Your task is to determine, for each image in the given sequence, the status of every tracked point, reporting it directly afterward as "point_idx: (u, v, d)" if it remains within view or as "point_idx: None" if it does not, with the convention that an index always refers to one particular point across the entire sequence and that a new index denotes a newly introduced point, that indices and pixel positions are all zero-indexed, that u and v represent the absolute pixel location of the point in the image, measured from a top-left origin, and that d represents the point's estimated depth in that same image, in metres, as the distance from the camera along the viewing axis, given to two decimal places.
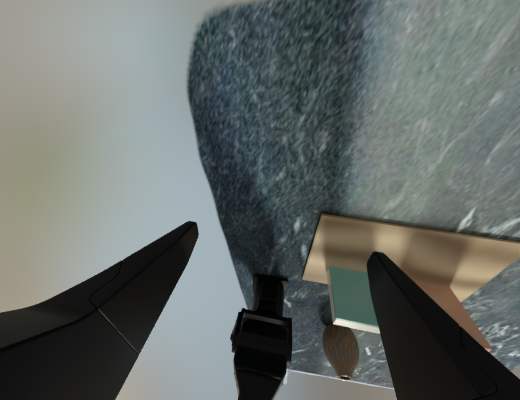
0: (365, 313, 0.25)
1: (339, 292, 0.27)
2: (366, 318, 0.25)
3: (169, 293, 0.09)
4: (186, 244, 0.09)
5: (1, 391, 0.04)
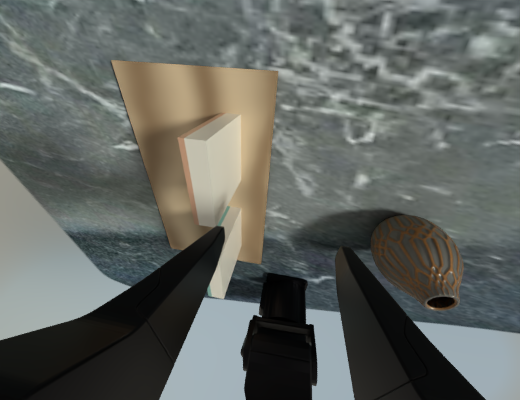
0: None
1: None
2: None
3: (201, 300, 0.08)
4: (216, 249, 0.09)
5: None
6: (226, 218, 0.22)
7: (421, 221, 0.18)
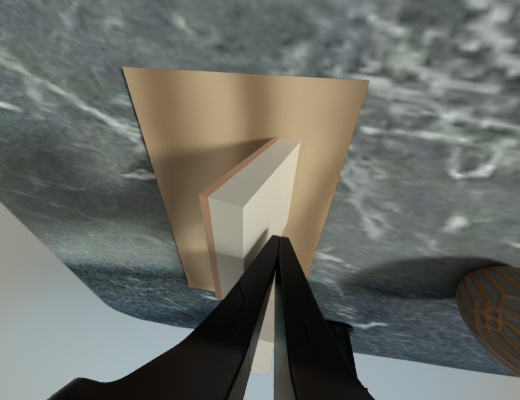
0: None
1: None
2: None
3: None
4: (277, 260, 0.09)
5: None
6: None
7: None
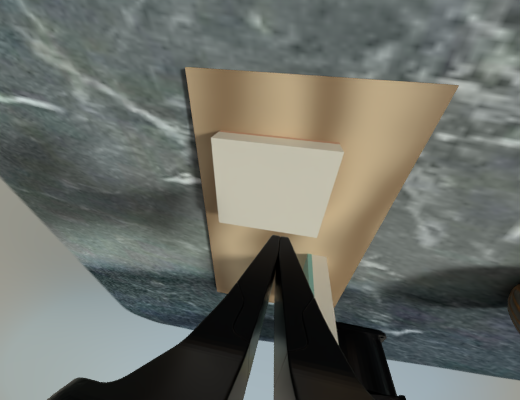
0: None
1: None
2: None
3: None
4: (277, 260, 0.09)
5: None
6: (315, 275, 0.17)
7: None
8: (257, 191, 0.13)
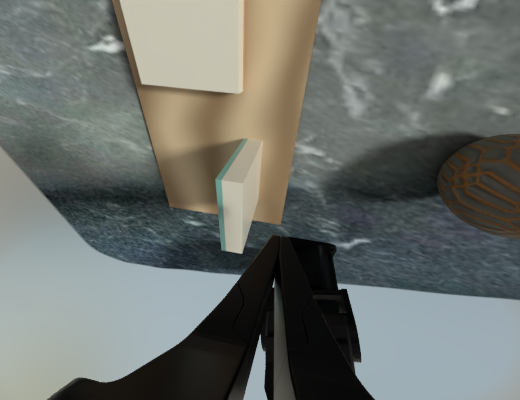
0: None
1: None
2: None
3: (265, 313, 0.08)
4: (277, 260, 0.09)
5: None
6: (245, 147, 0.16)
7: None
8: (167, 27, 0.13)
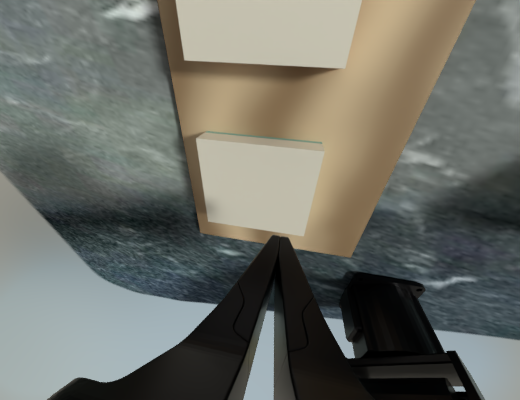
0: None
1: None
2: None
3: None
4: (277, 260, 0.09)
5: None
6: (286, 141, 0.12)
7: None
8: None
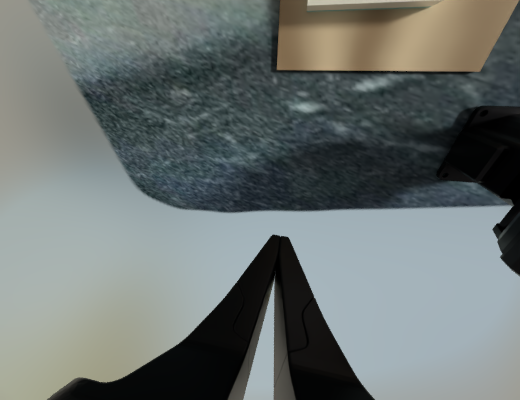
0: None
1: None
2: None
3: None
4: (277, 260, 0.09)
5: None
6: None
7: None
8: None
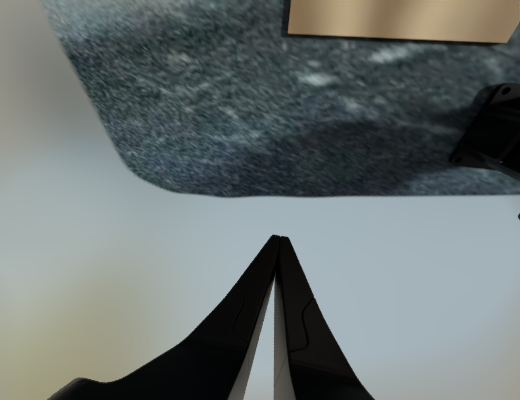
0: None
1: None
2: None
3: None
4: (277, 260, 0.09)
5: None
6: None
7: None
8: None
